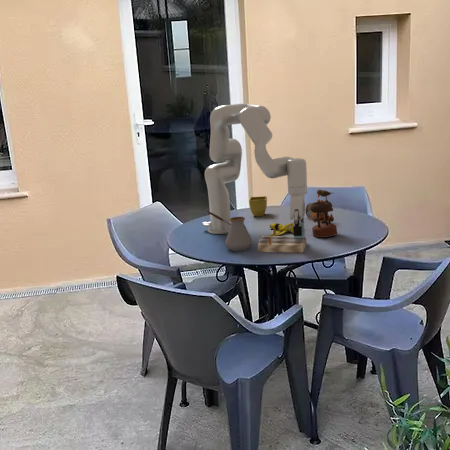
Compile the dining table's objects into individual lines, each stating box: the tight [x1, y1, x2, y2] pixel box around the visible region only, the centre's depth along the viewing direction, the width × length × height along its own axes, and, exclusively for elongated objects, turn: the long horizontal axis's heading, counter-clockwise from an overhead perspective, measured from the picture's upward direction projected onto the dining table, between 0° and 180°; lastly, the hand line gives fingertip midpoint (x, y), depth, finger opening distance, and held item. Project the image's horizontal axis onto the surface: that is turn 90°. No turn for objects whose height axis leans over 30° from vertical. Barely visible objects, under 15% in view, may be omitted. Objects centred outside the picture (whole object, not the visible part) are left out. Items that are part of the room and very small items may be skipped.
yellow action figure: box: [268, 222, 294, 236], centre depth 240 cm, size 19×4×15 cm
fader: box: [292, 221, 306, 240], centre depth 213 cm, size 4×3×7 cm
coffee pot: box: [206, 210, 253, 252], centre depth 221 cm, size 21×12×15 cm, turn 55°
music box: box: [310, 189, 338, 238], centre depth 227 cm, size 15×11×20 cm
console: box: [257, 229, 307, 253], centre depth 216 cm, size 18×12×6 cm, turn 75°
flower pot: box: [248, 195, 268, 217], centre depth 272 cm, size 9×9×9 cm
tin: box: [305, 202, 329, 224], centre depth 253 cm, size 15×3×8 cm, turn 27°
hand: (299, 232), depth 213 cm, fingers open, 7 cm apart
